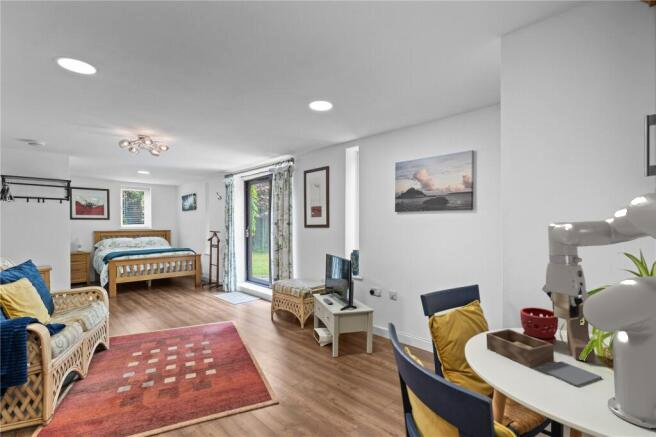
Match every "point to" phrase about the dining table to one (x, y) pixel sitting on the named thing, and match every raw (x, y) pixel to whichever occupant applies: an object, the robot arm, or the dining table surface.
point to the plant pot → (539, 324)
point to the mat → (569, 373)
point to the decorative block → (579, 336)
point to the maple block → (562, 306)
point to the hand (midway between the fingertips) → (565, 314)
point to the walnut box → (520, 347)
